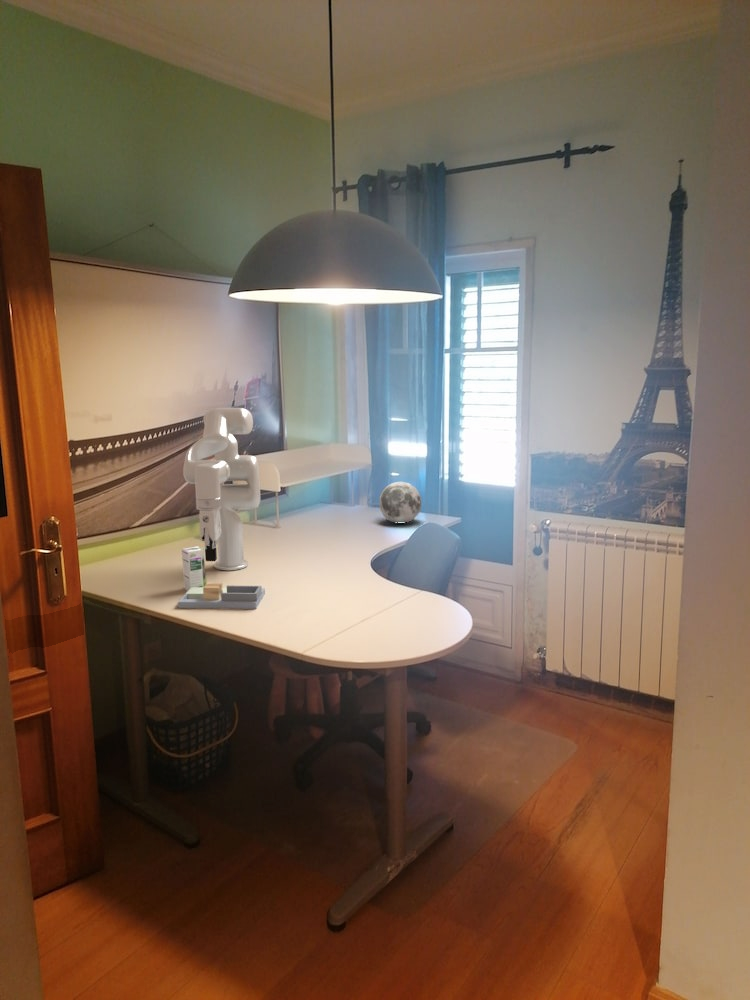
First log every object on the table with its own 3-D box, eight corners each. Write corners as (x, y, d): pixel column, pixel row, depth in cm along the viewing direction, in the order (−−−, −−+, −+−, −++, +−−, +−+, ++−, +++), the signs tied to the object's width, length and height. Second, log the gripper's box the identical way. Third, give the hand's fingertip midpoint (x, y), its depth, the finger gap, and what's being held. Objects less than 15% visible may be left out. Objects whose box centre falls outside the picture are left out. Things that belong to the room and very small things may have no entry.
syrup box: (190, 593, 248) (188, 551, 246) (183, 588, 253) (181, 547, 250) (206, 589, 252) (204, 548, 249) (199, 585, 256) (197, 545, 254)
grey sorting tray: (191, 592, 248) (191, 580, 248) (264, 593, 247) (264, 580, 247) (178, 607, 234) (177, 594, 233) (256, 608, 233) (255, 595, 232)
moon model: (377, 518, 359) (377, 478, 355) (418, 518, 360) (418, 478, 356) (380, 528, 339) (380, 485, 335) (423, 527, 340) (424, 485, 336)
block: (207, 594, 241) (207, 582, 240) (222, 594, 240) (222, 582, 240) (203, 599, 236) (203, 587, 235) (219, 599, 236) (218, 587, 235)
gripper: (215, 508, 220) (218, 567, 224) (225, 498, 235) (227, 554, 238) (190, 508, 220) (193, 567, 224) (201, 499, 235) (204, 554, 238)
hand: (211, 560), depth 231 cm, fingers closed
